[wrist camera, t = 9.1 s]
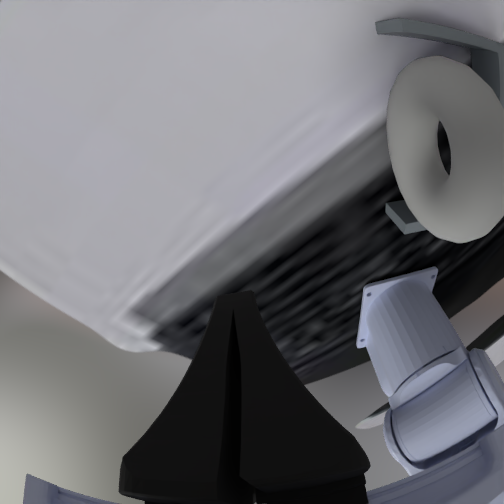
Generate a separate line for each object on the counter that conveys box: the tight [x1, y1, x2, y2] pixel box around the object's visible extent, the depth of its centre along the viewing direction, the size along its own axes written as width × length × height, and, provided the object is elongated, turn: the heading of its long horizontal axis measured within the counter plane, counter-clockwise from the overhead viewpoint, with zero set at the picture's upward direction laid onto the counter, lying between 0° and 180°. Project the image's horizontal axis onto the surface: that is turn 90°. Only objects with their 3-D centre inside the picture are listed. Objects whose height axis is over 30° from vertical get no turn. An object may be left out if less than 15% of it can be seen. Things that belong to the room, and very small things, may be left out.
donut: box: [387, 56, 504, 243], centre depth 12 cm, size 10×4×10 cm, turn 11°
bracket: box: [375, 18, 504, 234], centre depth 14 cm, size 14×9×3 cm
